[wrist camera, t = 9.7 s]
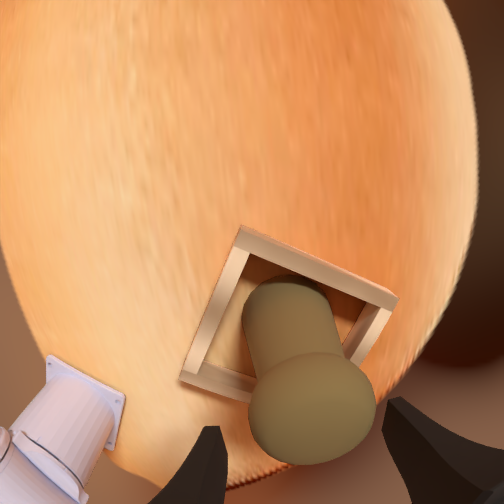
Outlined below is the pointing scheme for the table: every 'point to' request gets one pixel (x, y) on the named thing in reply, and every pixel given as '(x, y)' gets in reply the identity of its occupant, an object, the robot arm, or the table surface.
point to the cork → (302, 375)
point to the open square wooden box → (297, 261)
